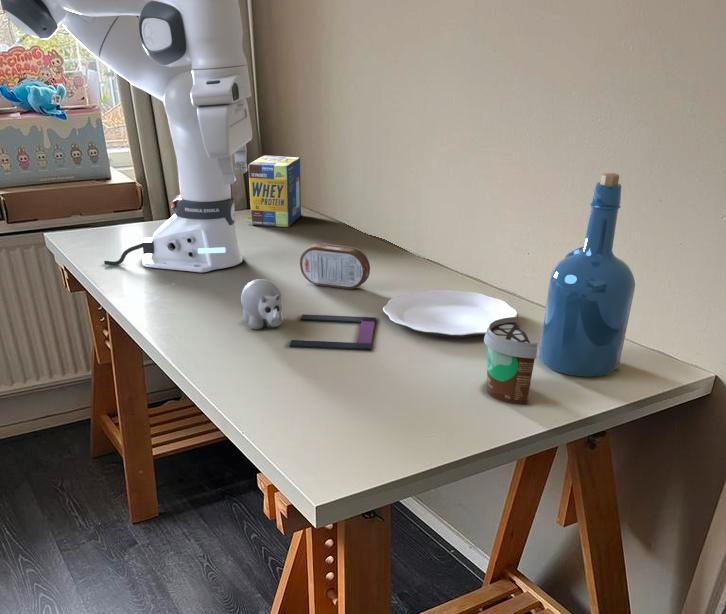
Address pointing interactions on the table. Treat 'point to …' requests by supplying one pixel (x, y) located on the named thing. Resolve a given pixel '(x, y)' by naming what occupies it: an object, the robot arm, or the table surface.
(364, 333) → the u-shaped frame
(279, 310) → the toy rhinoceros
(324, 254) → the tin
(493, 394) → the food container
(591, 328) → the wine bottle
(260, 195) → the protein box
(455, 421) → the table surface
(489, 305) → the plate
